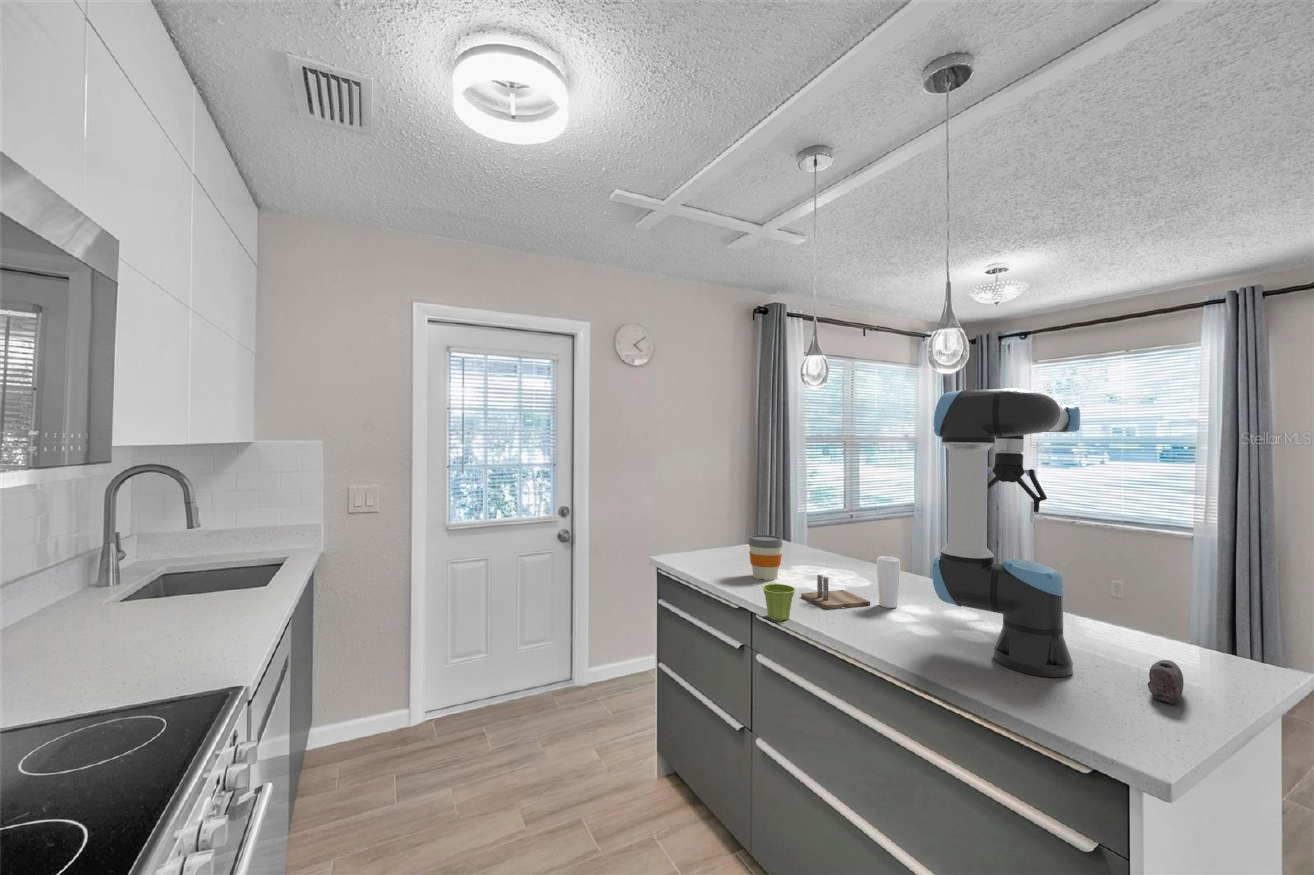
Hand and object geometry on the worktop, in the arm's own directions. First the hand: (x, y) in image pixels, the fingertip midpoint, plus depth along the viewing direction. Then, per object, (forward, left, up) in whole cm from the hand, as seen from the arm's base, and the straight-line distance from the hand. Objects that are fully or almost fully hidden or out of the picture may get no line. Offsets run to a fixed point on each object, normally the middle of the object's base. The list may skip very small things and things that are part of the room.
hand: (1006, 520), depth 173 cm
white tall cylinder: (-26, +27, -27) cm, 47 cm away
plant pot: (-60, +46, -28) cm, 81 cm away
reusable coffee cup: (-22, +74, -27) cm, 82 cm away
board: (-33, +41, -27) cm, 59 cm away
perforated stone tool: (-47, -37, -28) cm, 66 cm away
